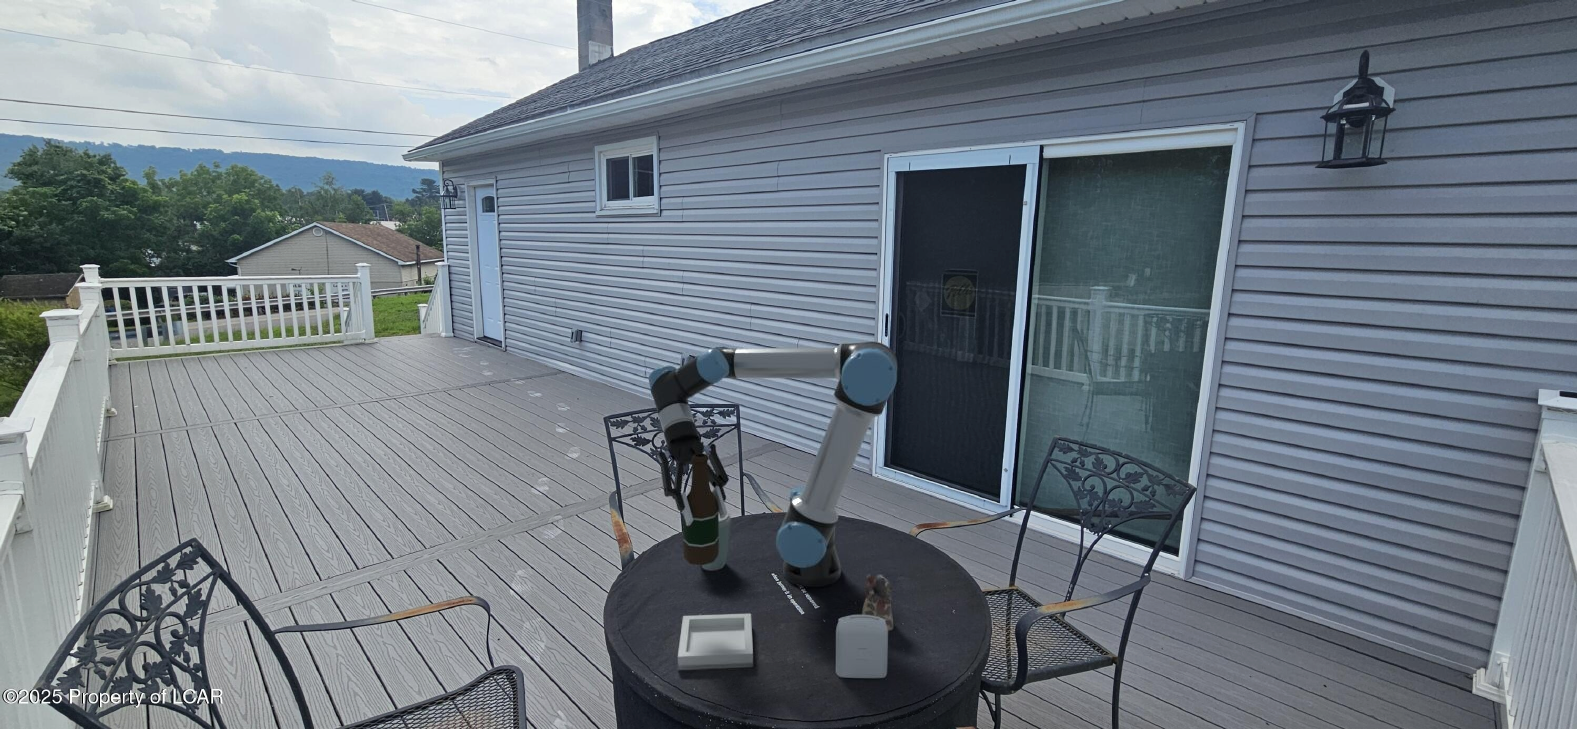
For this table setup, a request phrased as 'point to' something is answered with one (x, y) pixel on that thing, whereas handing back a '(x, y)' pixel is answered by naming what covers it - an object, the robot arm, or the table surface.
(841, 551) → the table surface
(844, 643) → the photo printer
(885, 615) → the figurine
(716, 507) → the beer bottle
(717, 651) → the dock tray
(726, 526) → the disposable coffee cup
